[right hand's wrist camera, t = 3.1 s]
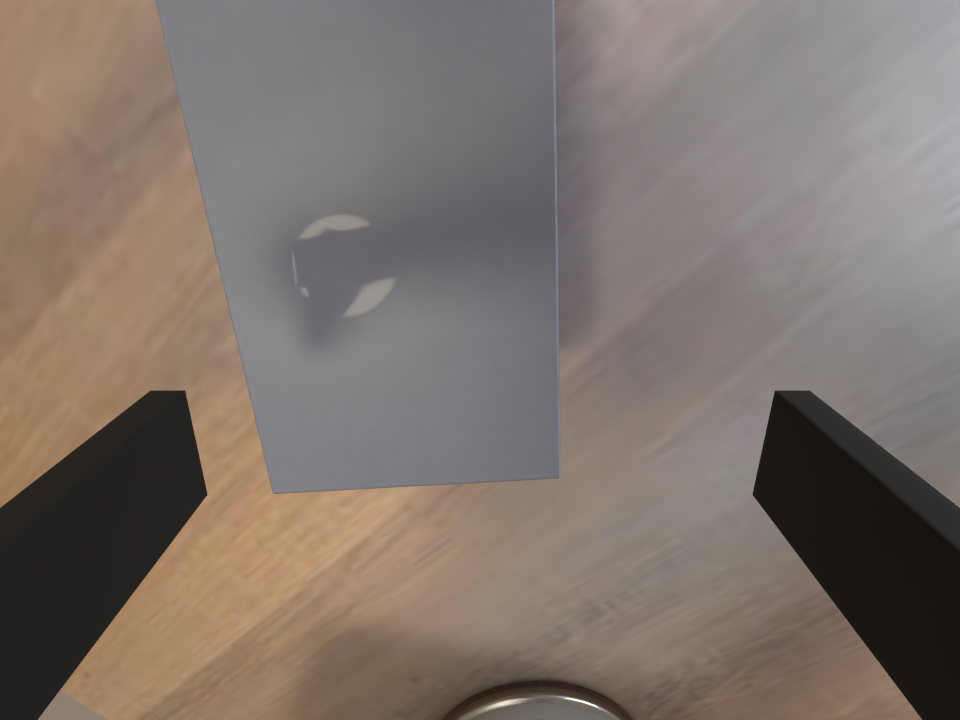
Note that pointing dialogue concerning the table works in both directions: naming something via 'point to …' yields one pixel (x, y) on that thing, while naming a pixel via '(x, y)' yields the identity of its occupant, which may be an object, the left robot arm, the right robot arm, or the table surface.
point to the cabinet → (383, 230)
